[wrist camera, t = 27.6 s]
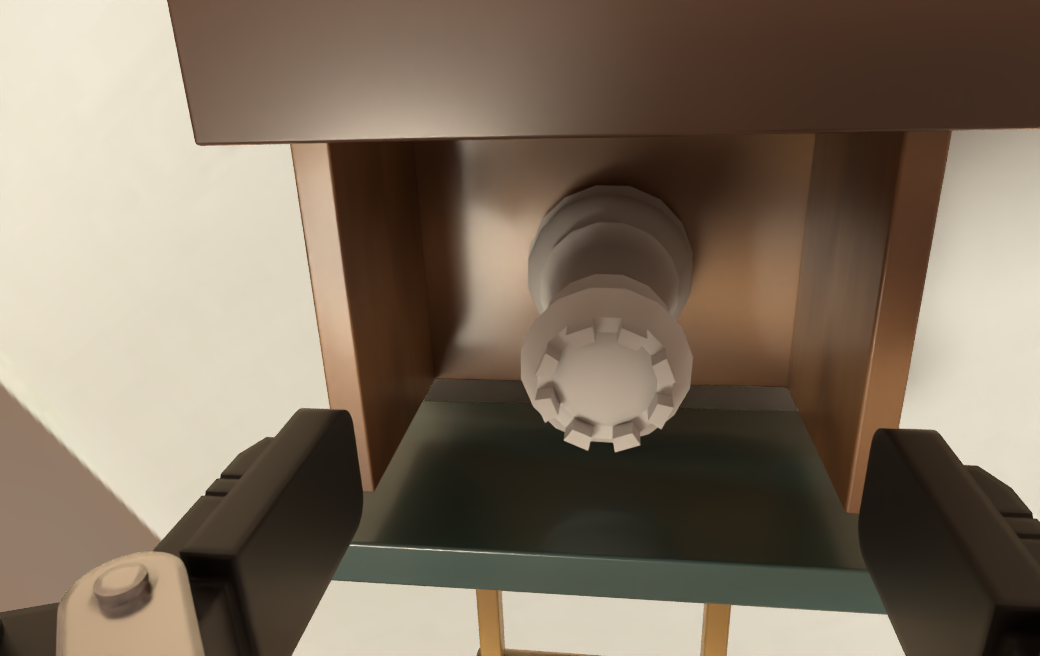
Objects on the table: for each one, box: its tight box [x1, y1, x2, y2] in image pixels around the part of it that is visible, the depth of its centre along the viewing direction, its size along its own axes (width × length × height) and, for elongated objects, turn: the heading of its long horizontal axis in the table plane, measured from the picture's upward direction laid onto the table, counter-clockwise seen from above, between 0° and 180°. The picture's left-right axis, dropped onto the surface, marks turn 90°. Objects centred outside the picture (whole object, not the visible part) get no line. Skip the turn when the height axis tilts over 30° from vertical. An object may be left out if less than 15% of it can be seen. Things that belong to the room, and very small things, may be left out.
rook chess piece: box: [521, 185, 693, 452], centre depth 17 cm, size 4×4×8 cm
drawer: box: [290, 131, 952, 656], centre depth 19 cm, size 20×13×7 cm, turn 2°
